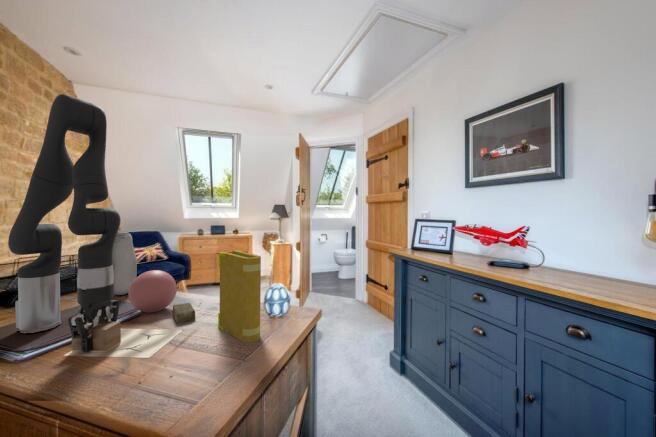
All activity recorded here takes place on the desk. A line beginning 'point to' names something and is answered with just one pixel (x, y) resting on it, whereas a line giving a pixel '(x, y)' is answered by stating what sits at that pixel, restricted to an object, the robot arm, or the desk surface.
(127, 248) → the grey vase
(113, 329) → the block
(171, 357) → the desk surface
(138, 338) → the birch board
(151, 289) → the pink egg
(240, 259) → the book
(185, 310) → the stone block
